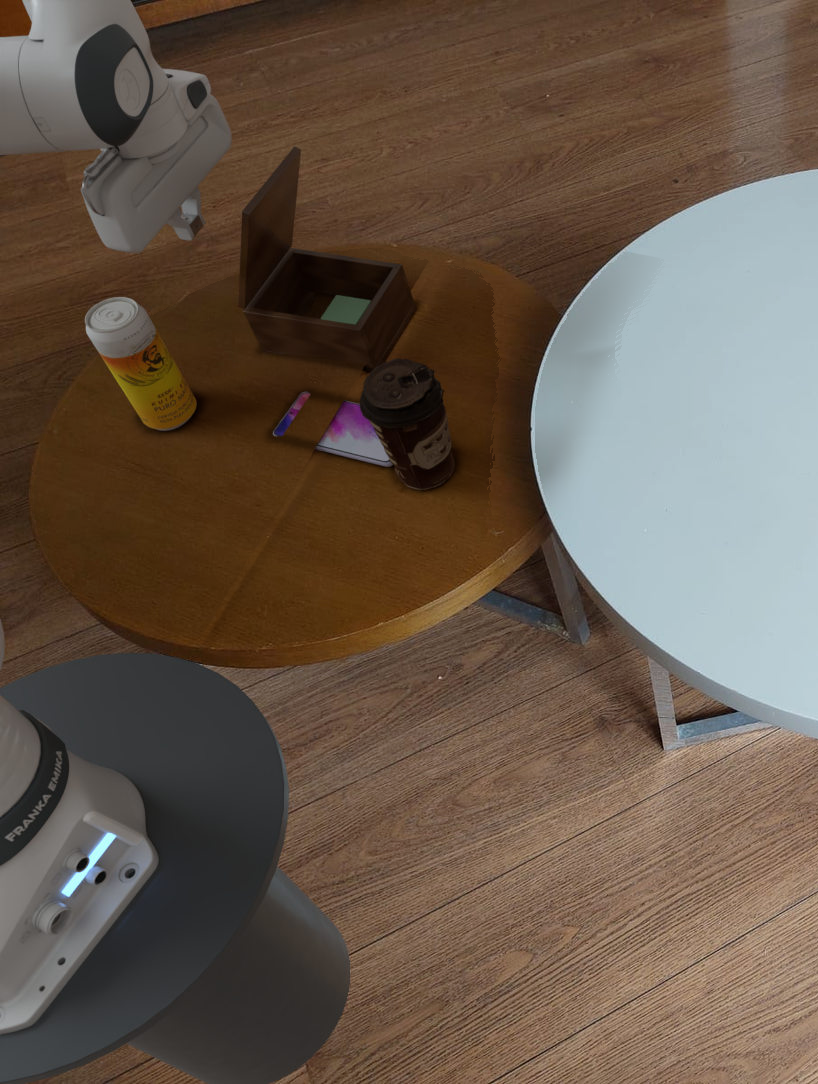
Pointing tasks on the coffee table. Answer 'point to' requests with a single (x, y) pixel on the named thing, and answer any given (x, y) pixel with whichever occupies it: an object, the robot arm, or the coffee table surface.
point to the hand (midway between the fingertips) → (193, 232)
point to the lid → (268, 227)
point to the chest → (291, 332)
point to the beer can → (140, 362)
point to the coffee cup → (410, 421)
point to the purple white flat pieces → (344, 433)
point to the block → (346, 309)
